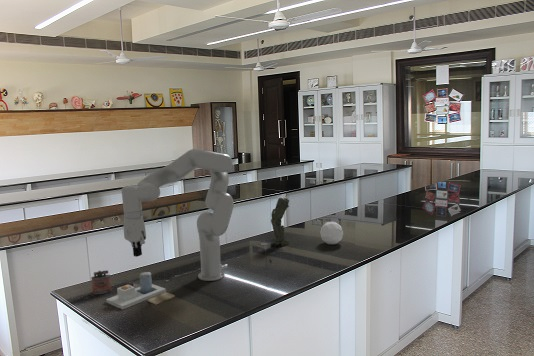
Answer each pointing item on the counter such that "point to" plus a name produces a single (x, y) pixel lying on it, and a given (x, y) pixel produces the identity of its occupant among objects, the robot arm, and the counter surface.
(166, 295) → the pad
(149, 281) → the cylinder
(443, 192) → the counter surface
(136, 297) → the dock
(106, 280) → the lighter
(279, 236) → the mechanical leg
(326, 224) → the geodesic sphere
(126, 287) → the brown egg
